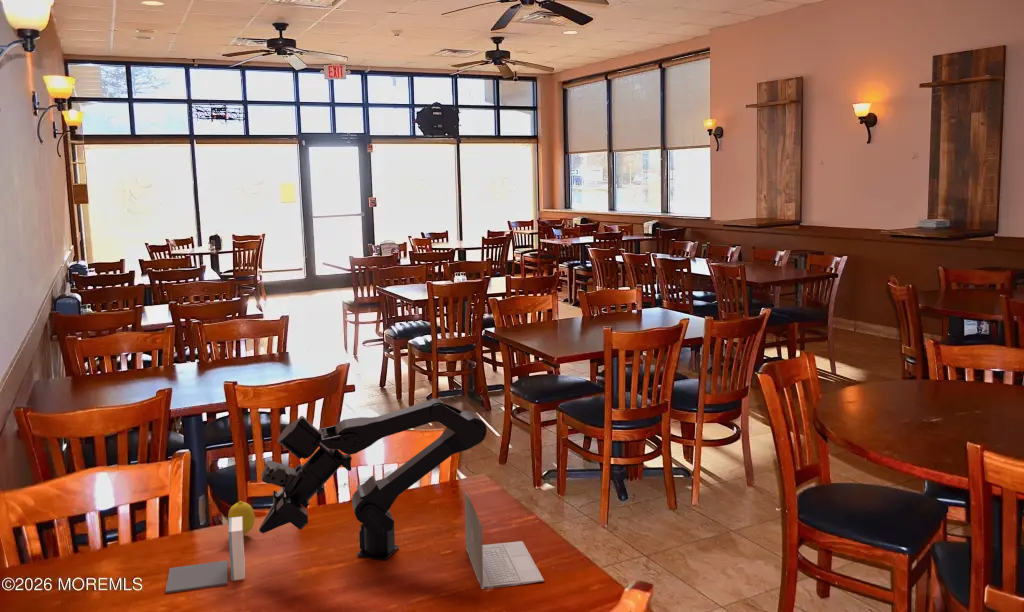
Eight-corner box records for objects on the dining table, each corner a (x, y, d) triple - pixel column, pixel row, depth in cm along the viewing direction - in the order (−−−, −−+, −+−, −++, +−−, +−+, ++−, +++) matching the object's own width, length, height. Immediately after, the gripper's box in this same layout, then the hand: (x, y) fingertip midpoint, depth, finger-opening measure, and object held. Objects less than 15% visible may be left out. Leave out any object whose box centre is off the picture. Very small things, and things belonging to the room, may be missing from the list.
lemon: (260, 532, 181) (258, 498, 180) (244, 543, 176) (242, 507, 175) (239, 529, 183) (237, 495, 182) (223, 539, 178) (221, 504, 176)
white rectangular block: (244, 563, 167) (242, 516, 165) (244, 578, 160) (242, 530, 159) (231, 564, 166) (229, 518, 164) (231, 580, 159) (228, 531, 158)
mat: (228, 562, 167) (228, 560, 167) (227, 584, 158) (227, 582, 158) (169, 569, 164) (169, 568, 164) (165, 593, 154) (165, 591, 154)
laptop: (544, 583, 159) (544, 519, 157) (480, 591, 156) (480, 525, 154) (522, 544, 176) (522, 486, 174) (465, 550, 173) (464, 491, 171)
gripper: (283, 434, 171) (229, 490, 169) (287, 463, 154) (228, 526, 152) (322, 466, 175) (271, 522, 173) (331, 498, 157) (274, 560, 155)
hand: (260, 531), depth 163 cm, fingers closed
